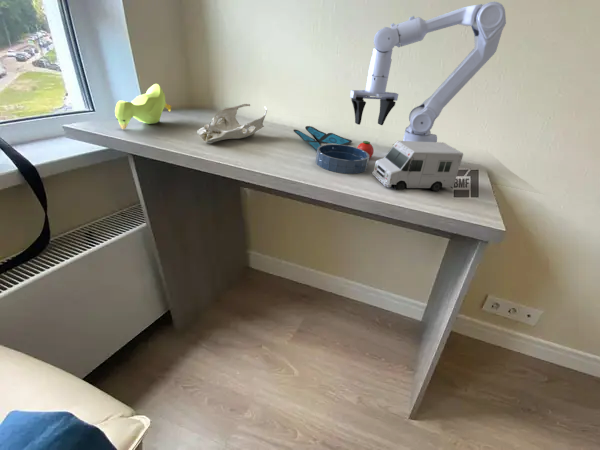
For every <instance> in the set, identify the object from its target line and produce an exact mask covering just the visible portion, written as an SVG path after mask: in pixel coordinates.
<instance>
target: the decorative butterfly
mask: <svg viewBox="0 0 600 450" xmlns="http://www.w3.org/2000/svg"><path fill="white" fill-rule="evenodd" d="M305 130H306V131H307V132H308V133H309V134H310V135H311V136H312V137H311V136H309V135H308V134H306V133H305V132H303V131H300V130H298V129H295V128H294V129H293V133H294V134H296V135H297V136H298V137H299V138H301V140H302V141H304V142H307V144H308V145H310V146H311V147H312V148H313V149H314V150H315V151H316V152H317V148H318V147H319V146H322V145H323V144H325V145H327V144H340V145H347V146H350V145H351V144H352V143H353V140H352V139H349V138H346V137H342V136H341V135H338V134H335V133H333V132H327V133H326V132H323V131H321V130H319V129H317V128H316V127H314V126H311V125H307V126H305Z"/></svg>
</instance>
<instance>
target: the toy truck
mask: <svg viewBox="0 0 600 450" xmlns="http://www.w3.org/2000/svg"><path fill="white" fill-rule="evenodd" d="M463 156H464V152H462V151H460V150H458V149H456V148H454V147H453V146H450V145H449V144H447V143H445V142H444V141H443V142H441V141H440V142H439V141H437V142H416V141H403V140H397V141H395V143H393V145H392V147H391V148H390V150H389V151H388V152H387V153H386V155H385V156H384V157H382V158H379V159H377V160H375V164H374V168H373V170H372V173H371V174H372V175H373V176H374V177H375V178H376V179H377V180H378V181H379V182H380V183H381V184H382V185H383V186H384V187H386V188H391V187H392V185H394V186H393V188H394V189H395V190H397V191H403V190H404V189H405V188H406V189H430V190H431V191H432V192H438V191H439V190H440V189H441V188H450V189H454V186H455V183H456V180H457V177H458V173H459V170H460V166H461V163H462V161H463Z"/></svg>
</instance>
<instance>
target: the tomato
mask: <svg viewBox="0 0 600 450" xmlns="http://www.w3.org/2000/svg"><path fill="white" fill-rule="evenodd" d="M356 148H359V149H362V150H364V151H366V152H367V153H368V154H369V159H371V158H372V157H373V155H374V153H375V152H374V147H373V144H371V141H368V140H363V141H362V142H360V143H359V144H358V145H357V147H356Z"/></svg>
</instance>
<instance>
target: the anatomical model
mask: <svg viewBox="0 0 600 450" xmlns="http://www.w3.org/2000/svg"><path fill="white" fill-rule="evenodd" d="M244 107H251V104H250V103H243V104H239V105H235V106H230V107H229V106H228V107H224V108H222V109H220V110H219V111H218V112H217V113H216V114H215V115H214V116H213V117H212V119H211V121H209V123H206V124H204V126H202V127H201V128H198V129H197V130H196V133H197V135H198V136H199V137H200V138H201V139H202V141H204V142H205V143H210V144H211V143H215V142H219V141H224V140H228V139H246V138H248V137H250V136H251V135H253V134H255V133H256V132H258V131H260V130H261V129H262V128H264V127H265V125H264V121H265V118H266V115H267V112H268V108H267V106H264V107H263V108H264V110H265V111H264V113H263V115H262V116H261V117H259V118H257V119H255V120H253V121H250V122H249V123H245V124H243V125H242V124H240V123H239V122H238V121H239V120H238V119H237V117H236V116H237V113H238V110H239V109H240V108H244ZM251 127H253V128H251Z"/></svg>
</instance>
